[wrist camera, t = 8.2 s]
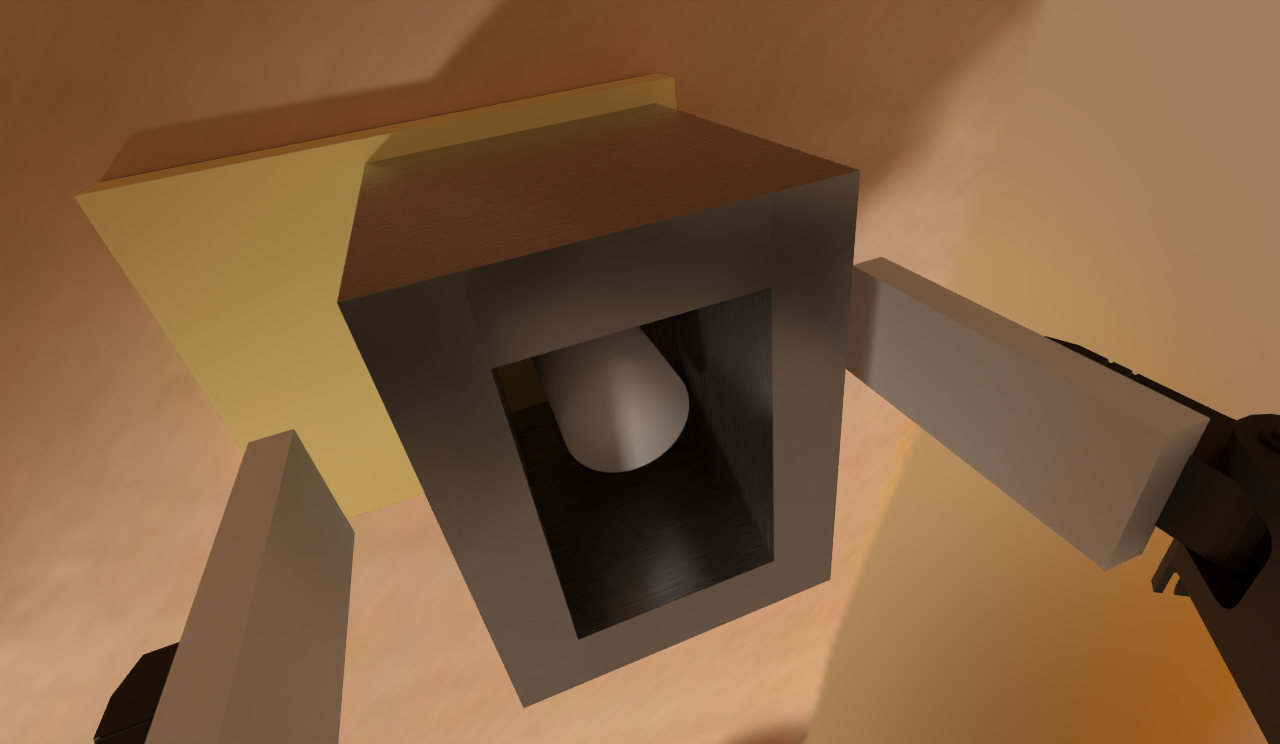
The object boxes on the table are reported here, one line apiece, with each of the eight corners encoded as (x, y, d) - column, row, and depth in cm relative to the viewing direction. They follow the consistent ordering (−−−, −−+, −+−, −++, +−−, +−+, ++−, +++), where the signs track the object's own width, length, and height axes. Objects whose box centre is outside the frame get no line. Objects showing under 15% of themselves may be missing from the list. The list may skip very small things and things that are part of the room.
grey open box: (687, 394, 20) (830, 579, 13) (477, 462, 18) (523, 708, 12) (655, 103, 15) (859, 169, 8) (364, 163, 13) (336, 302, 7)
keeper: (302, 507, 18) (260, 736, 12) (97, 182, 13) (-151, 320, 7) (689, 383, 21) (801, 523, 15) (656, 73, 16) (813, 106, 10)
